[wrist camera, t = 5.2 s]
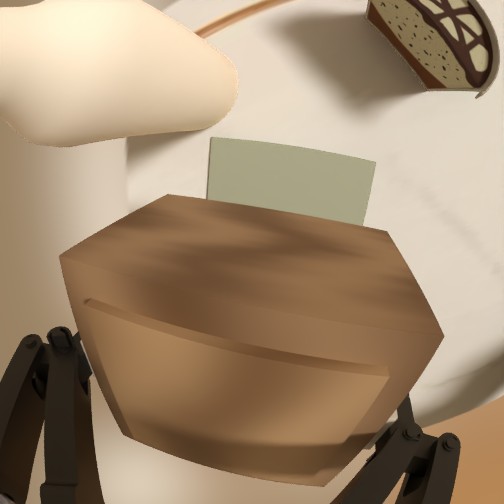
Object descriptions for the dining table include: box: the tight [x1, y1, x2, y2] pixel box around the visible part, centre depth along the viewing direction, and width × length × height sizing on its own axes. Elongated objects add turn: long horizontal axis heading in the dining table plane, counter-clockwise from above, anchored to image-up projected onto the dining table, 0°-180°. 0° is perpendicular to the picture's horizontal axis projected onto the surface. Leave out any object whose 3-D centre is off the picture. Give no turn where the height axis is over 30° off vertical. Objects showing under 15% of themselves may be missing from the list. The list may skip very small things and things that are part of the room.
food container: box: [365, 0, 500, 99], centre depth 14 cm, size 12×6×10 cm, turn 42°
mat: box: [207, 137, 376, 226], centre depth 29 cm, size 16×16×1 cm
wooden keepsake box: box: [59, 194, 444, 487], centre depth 13 cm, size 12×12×8 cm
